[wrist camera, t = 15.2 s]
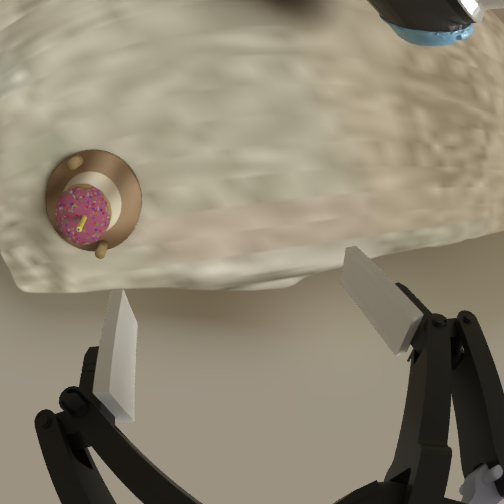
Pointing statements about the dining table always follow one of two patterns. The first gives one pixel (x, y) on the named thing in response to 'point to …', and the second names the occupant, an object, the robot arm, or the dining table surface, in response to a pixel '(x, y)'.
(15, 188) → the dining table surface
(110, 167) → the plate
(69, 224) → the cupcake
